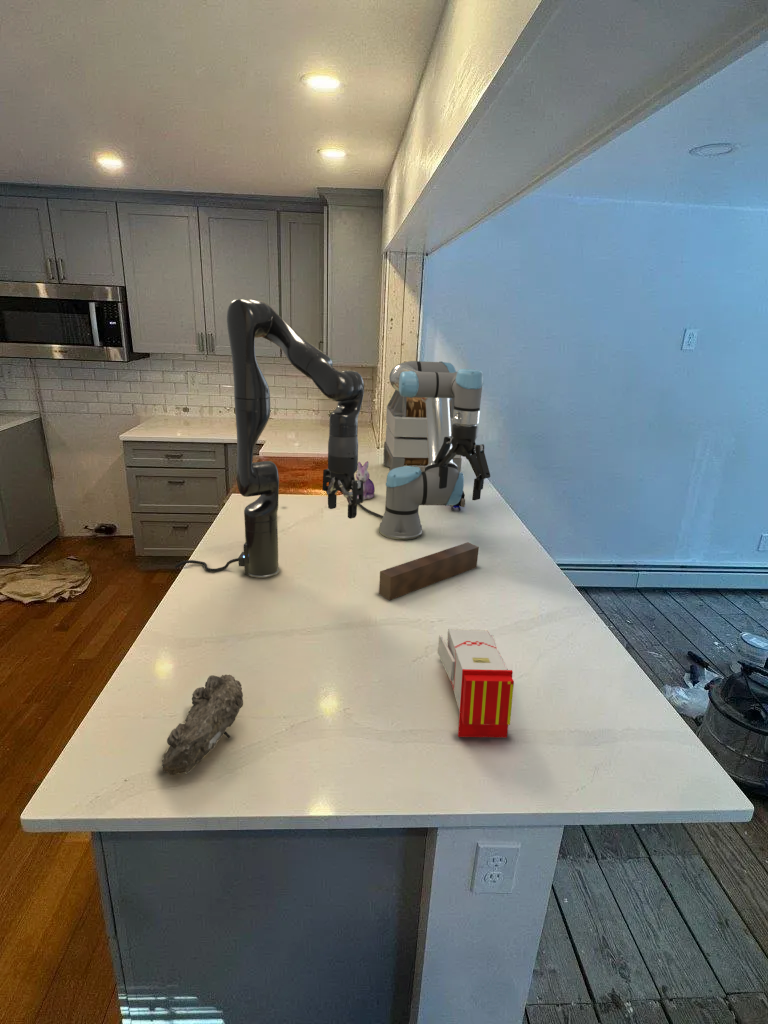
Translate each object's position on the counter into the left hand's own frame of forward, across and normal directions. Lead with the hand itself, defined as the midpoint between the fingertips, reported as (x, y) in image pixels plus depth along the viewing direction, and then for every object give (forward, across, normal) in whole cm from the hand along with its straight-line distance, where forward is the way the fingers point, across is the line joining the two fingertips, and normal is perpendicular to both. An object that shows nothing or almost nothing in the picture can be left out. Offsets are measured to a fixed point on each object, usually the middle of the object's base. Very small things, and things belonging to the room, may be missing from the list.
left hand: (341, 513), depth 148 cm
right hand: (+1, +3, +42) cm, 42 cm away
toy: (+24, +50, -3) cm, 55 cm away
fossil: (+24, +29, -51) cm, 63 cm away
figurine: (+24, -63, +59) cm, 90 cm away
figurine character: (+24, -33, +82) cm, 92 cm away
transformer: (+24, -77, +104) cm, 132 cm away
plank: (+24, +8, +27) cm, 37 cm away
